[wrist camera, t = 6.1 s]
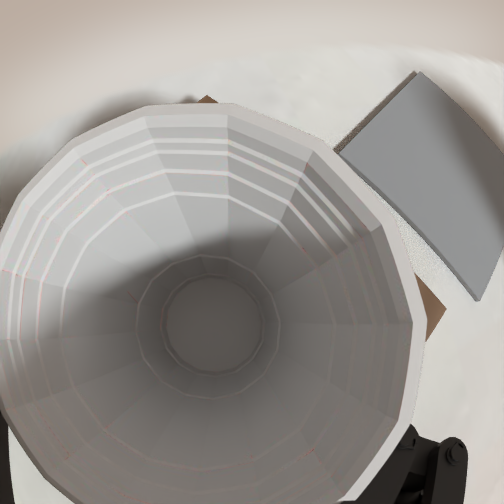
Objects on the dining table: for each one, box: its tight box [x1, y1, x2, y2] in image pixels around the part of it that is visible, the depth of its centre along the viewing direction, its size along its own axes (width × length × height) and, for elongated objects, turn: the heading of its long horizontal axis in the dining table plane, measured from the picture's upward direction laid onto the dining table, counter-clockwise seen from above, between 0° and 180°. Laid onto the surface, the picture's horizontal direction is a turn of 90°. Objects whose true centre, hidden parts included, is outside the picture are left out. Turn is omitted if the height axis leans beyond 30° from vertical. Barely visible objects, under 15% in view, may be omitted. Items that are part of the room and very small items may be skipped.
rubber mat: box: [338, 72, 504, 301], centre depth 19 cm, size 15×15×1 cm
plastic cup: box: [0, 103, 427, 504], centre depth 11 cm, size 11×11×12 cm
